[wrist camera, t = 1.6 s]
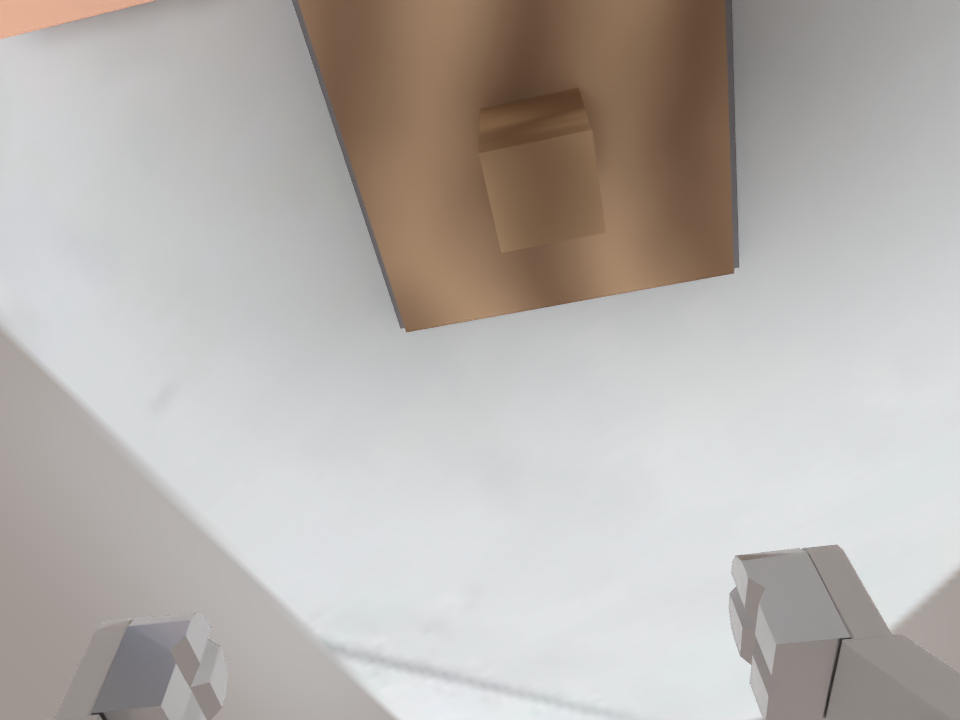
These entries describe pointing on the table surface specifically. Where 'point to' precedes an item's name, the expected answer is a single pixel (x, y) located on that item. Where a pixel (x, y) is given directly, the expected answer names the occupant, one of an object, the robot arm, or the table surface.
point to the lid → (532, 146)
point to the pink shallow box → (52, 13)
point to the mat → (305, 32)
